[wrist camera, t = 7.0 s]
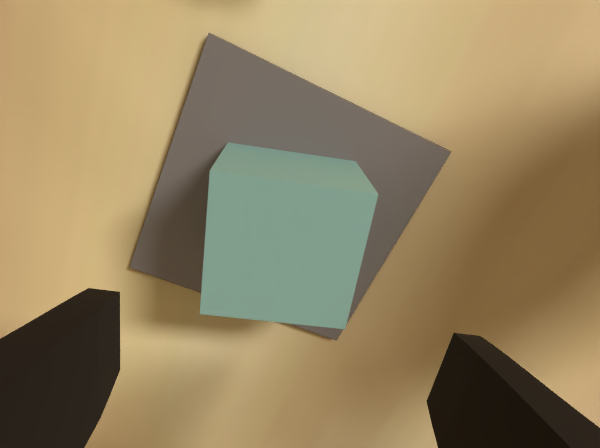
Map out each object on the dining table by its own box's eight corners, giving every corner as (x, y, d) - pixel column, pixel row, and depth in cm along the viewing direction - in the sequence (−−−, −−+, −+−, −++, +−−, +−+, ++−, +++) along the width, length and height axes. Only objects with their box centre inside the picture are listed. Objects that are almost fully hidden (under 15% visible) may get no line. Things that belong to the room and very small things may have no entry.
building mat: (448, 150, 16) (451, 151, 15) (335, 336, 19) (336, 340, 19) (210, 33, 14) (208, 32, 14) (131, 264, 17) (129, 267, 17)
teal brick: (331, 271, 17) (345, 329, 14) (217, 257, 17) (199, 314, 13) (355, 161, 15) (378, 194, 12) (227, 142, 15) (209, 170, 11)
